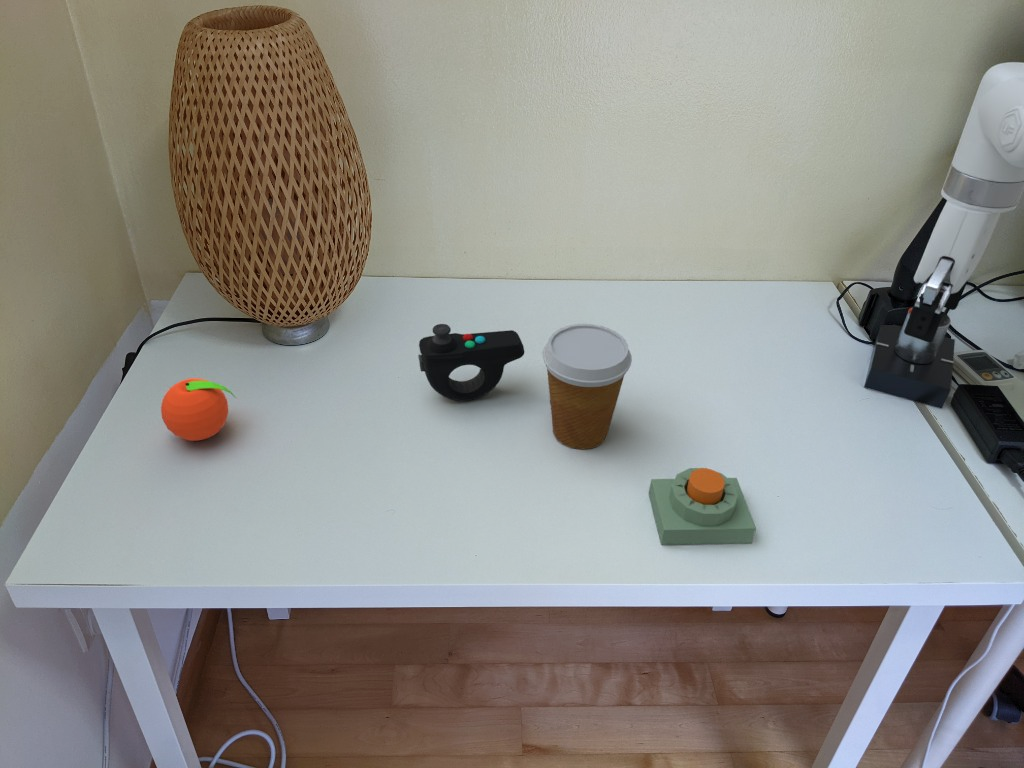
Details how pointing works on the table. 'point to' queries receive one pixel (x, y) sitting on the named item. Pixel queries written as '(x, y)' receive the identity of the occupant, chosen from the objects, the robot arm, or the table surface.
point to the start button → (705, 486)
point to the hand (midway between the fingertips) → (930, 321)
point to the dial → (920, 343)
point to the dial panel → (909, 371)
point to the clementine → (195, 409)
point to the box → (699, 513)
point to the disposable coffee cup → (584, 381)
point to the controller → (467, 360)
